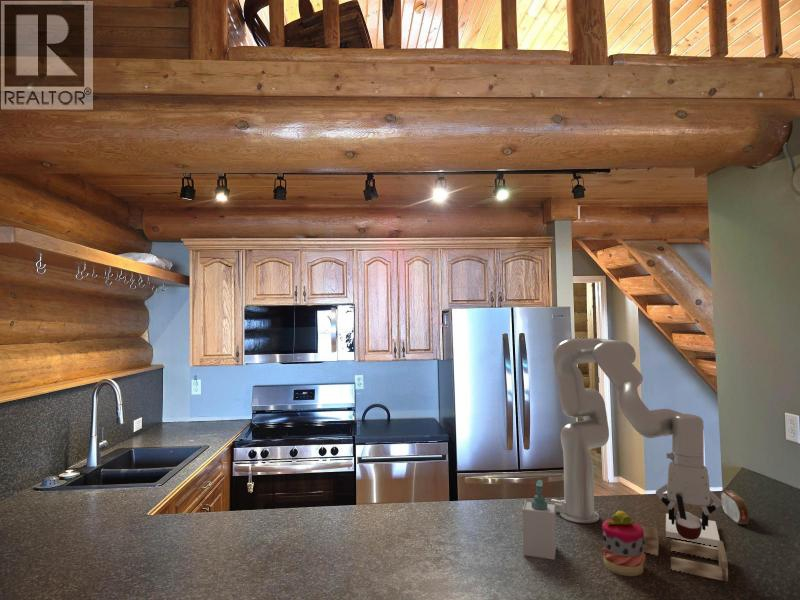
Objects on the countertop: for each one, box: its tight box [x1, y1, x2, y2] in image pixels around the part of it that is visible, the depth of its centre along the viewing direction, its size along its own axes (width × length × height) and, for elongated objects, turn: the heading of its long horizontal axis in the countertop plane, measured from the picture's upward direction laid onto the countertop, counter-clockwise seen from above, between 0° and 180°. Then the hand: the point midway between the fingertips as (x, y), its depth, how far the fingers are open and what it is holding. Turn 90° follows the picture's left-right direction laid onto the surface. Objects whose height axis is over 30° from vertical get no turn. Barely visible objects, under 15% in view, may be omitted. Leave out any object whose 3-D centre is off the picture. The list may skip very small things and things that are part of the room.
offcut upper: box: [640, 525, 660, 548], centre depth 148 cm, size 5×7×2 cm, turn 157°
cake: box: [601, 510, 647, 577], centre depth 136 cm, size 10×11×15 cm
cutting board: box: [665, 513, 721, 548], centre depth 158 cm, size 14×16×2 cm
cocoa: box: [674, 495, 702, 540], centre depth 139 cm, size 10×6×12 cm, turn 101°
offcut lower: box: [643, 545, 659, 556], centre depth 147 cm, size 5×8×2 cm, turn 152°
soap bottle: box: [522, 479, 557, 560], centre depth 146 cm, size 9×9×19 cm
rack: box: [670, 539, 729, 582], centre depth 137 cm, size 13×13×5 cm
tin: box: [720, 489, 750, 526], centre depth 169 cm, size 15×3×8 cm, turn 168°
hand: (688, 524), depth 139 cm, fingers closed on cocoa, 6 cm apart
